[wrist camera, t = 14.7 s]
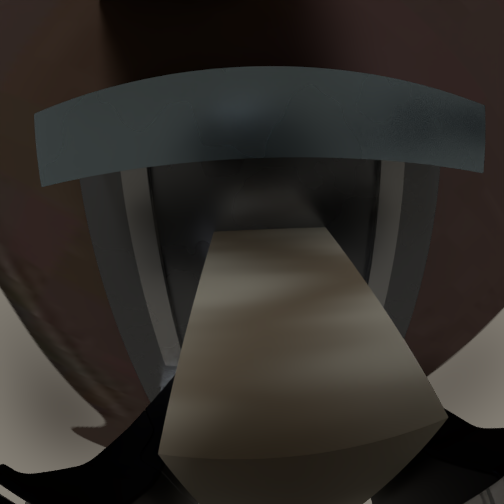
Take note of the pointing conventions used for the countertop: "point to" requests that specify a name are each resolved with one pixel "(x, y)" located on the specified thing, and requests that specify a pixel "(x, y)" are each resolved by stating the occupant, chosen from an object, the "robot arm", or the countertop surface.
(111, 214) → the vise bed
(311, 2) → the countertop surface
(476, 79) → the countertop surface
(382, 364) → the ash block
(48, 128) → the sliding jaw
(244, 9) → the countertop surface
